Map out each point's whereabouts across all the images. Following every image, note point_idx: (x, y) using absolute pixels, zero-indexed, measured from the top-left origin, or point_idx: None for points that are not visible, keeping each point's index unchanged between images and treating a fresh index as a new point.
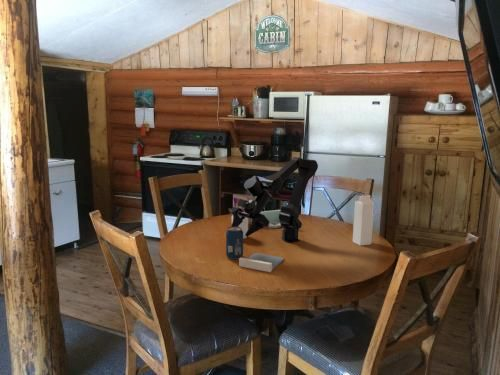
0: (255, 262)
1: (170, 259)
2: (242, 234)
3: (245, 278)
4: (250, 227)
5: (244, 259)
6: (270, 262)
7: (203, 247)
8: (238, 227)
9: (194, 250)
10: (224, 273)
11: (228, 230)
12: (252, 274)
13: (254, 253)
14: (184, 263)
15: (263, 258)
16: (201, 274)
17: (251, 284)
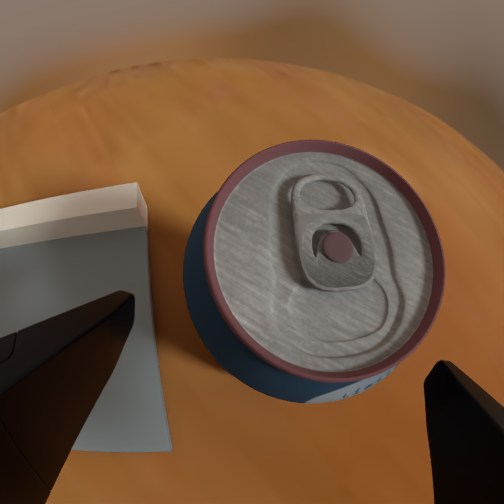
0: (35, 203)
1: (449, 132)
2: (186, 298)
3: (66, 124)
4: (22, 345)
5: (101, 191)
6: (9, 333)
7: (490, 323)
8: (347, 373)
9: (485, 261)
10: (168, 109)
11: (365, 165)
12: (50, 168)
13: (167, 437)
14: (388, 118)
15: None
16: (248, 69)
17: (37, 107)
